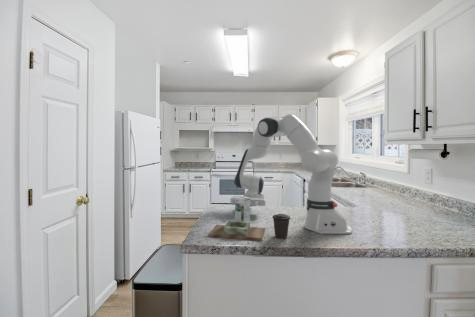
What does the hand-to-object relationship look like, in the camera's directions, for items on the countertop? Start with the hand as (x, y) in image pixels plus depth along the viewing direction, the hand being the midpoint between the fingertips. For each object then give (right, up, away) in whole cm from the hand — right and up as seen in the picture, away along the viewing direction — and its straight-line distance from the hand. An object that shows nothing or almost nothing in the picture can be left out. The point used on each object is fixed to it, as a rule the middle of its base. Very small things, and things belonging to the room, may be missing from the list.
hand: (246, 204), depth 149 cm
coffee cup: (+15, -10, -27) cm, 33 cm away
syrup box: (-2, -9, -11) cm, 14 cm away
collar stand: (-5, -10, -23) cm, 26 cm away
